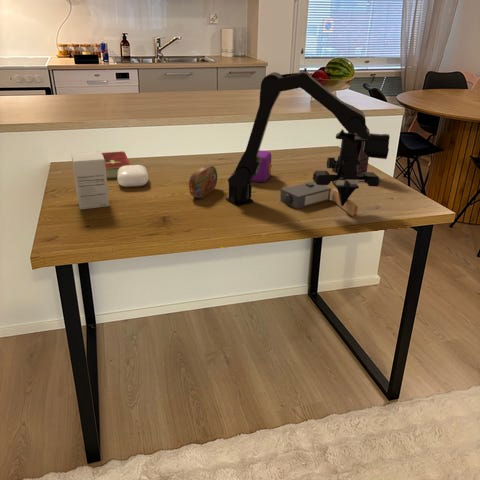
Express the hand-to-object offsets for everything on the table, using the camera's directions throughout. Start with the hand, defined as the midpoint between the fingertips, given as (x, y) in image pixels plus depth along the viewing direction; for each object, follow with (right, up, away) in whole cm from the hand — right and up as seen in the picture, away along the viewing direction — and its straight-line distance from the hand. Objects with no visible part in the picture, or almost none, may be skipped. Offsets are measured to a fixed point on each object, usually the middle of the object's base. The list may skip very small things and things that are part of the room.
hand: (341, 205), depth 144 cm
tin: (-43, +5, +13) cm, 45 cm away
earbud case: (-68, +9, +21) cm, 71 cm away
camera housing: (-10, +2, +9) cm, 13 cm away
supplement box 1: (-76, +1, +3) cm, 76 cm away
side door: (+1, 0, +4) cm, 4 cm away
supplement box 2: (+12, +13, +33) cm, 37 cm away
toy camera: (-25, +12, +29) cm, 40 cm away
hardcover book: (-78, +16, +34) cm, 87 cm away
